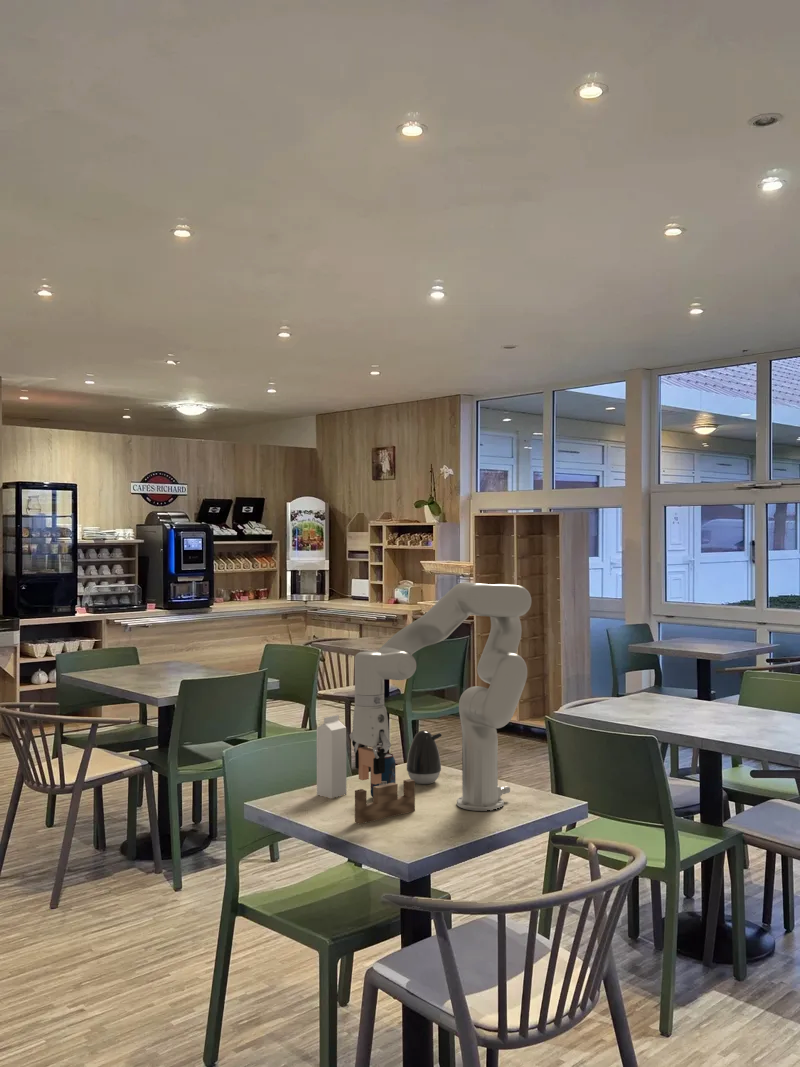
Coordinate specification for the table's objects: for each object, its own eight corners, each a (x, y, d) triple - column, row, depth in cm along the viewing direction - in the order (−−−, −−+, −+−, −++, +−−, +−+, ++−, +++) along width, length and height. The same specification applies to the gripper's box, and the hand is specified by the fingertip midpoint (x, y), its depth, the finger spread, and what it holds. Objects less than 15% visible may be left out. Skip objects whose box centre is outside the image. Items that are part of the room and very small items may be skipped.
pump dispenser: (443, 786, 264) (442, 733, 264) (407, 786, 264) (406, 734, 264) (440, 777, 274) (440, 727, 275) (406, 777, 274) (406, 727, 274)
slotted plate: (364, 777, 235) (364, 746, 235) (381, 783, 230) (381, 751, 230) (358, 779, 234) (358, 747, 234) (375, 784, 229) (374, 752, 229)
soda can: (370, 795, 256) (370, 752, 256) (395, 794, 256) (395, 751, 256) (370, 801, 249) (370, 757, 249) (395, 801, 249) (395, 757, 249)
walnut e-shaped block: (410, 809, 241) (409, 778, 241) (414, 810, 240) (414, 780, 240) (354, 822, 230) (354, 790, 230) (359, 824, 228) (359, 792, 229)
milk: (346, 794, 256) (347, 716, 257) (331, 799, 252) (332, 719, 252) (330, 790, 260) (331, 713, 260) (315, 795, 255) (316, 716, 256)
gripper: (402, 703, 228) (402, 774, 228) (361, 694, 241) (361, 762, 241) (378, 706, 223) (378, 779, 223) (337, 697, 237) (338, 766, 236)
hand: (369, 770), depth 232 cm, fingers closed on slotted plate, 7 cm apart
